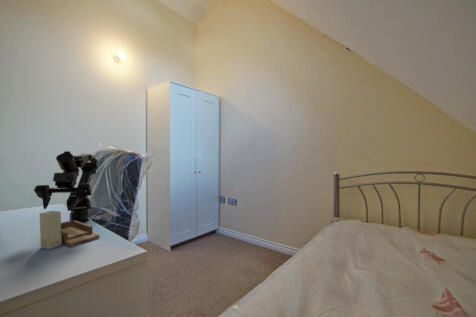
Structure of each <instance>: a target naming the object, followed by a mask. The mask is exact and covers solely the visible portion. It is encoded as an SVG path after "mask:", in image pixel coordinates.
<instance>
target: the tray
mask: <svg viewBox="0 0 476 317" xmlns="http://www.w3.org/2000/svg"><path fill="white" fill-rule="evenodd" d="M61 238H62V244H64V245H66V246H67V247H70V248H72V247H75V246H79V245H81V244H85V243H87V242H91V241H94V240H97V239H99V238H100V234H98V233H95V232H93V225H91V224H87V223H84V222H79V221H76V220H71V221H70V220H68V221H63V222H61Z"/></svg>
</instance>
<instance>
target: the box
mask: <svg viewBox="0 0 476 317" xmlns="http://www.w3.org/2000/svg"><path fill="white" fill-rule="evenodd" d="M61 214H62V213H61V211H59V210H50V211H44V212H41V213H39V228H40V229H39V232H40V233H39V236H40V239H39V240H40V248H41V249H45V250H52V249H55V248H58V247H60V246H62V244H63V243H62V238H61V223H62V215H61Z"/></svg>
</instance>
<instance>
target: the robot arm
mask: <svg viewBox="0 0 476 317" xmlns="http://www.w3.org/2000/svg"><path fill="white" fill-rule="evenodd" d="M56 162H57V164H58V166H59V168H60V170H62V172H54V173H53V177H52V181H53V182H54V185H55V186H56V187H50V185H49V184H38V185H36V186H35V187H34V189H33V191H34V193H35V195H36V196H37V197H38V198H40V199H41V200H42V205H43V210H46V209H47V208H48V207H49V203H50V201H51V200H52V195H53V194H54V193H55V194H56V193H57V194H58V193H62V194H63V193H64V194H66V193H67V194H69V196H68V198H66V199H67V200H66V208H67V212H70V213H69V221H71V220H76V221H79V222H82V223H84V222H89V221H90V219H89V215H88V213H89V212H88V210H90V209H91V208H92V207H91V206H92V203H91V200H90V198H89V196H91V195H92V193H93V190H92V187H91V184H90V183H91V180H92V176H93V175H95V174H97V172H96V169H97V168H98V164H99V162H98V159H97V158H95V157H93V154H91V153H82V154H81V153H80V154H79V155H73V154H72V153H71V151H67V150H66V151H64V152H63V153H59V154H58V155H56ZM79 168H80V169H79ZM98 169H99V168H98ZM98 169H97V170H98ZM80 170H81V176H80ZM79 176H80V178H79V181H78V183H77V180H78V177H79ZM76 185H77V186H76Z"/></svg>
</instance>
